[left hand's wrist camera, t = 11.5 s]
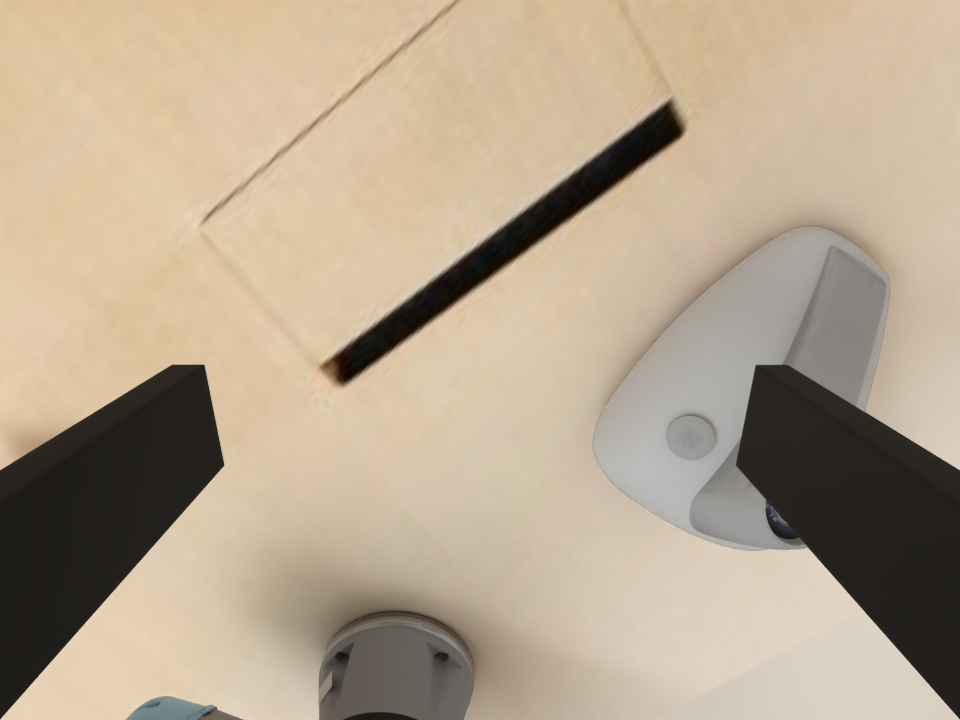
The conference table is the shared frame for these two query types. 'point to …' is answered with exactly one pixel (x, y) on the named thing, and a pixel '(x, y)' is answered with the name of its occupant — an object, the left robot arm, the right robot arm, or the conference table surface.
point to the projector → (741, 382)
